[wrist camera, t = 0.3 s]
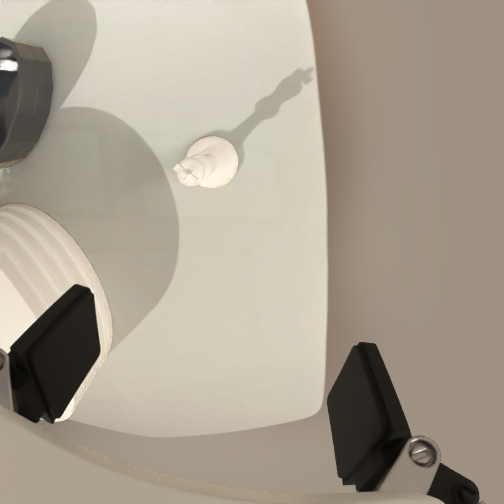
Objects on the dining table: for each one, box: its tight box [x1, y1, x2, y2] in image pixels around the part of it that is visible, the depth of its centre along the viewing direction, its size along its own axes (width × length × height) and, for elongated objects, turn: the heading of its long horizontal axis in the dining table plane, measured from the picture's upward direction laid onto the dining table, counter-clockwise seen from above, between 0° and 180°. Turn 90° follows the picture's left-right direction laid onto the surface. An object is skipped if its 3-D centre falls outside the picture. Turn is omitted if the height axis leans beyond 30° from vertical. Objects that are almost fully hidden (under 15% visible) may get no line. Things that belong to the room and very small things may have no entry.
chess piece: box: [173, 136, 238, 188], centre depth 22 cm, size 5×5×10 cm
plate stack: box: [0, 204, 113, 422], centre depth 29 cm, size 28×28×12 cm
